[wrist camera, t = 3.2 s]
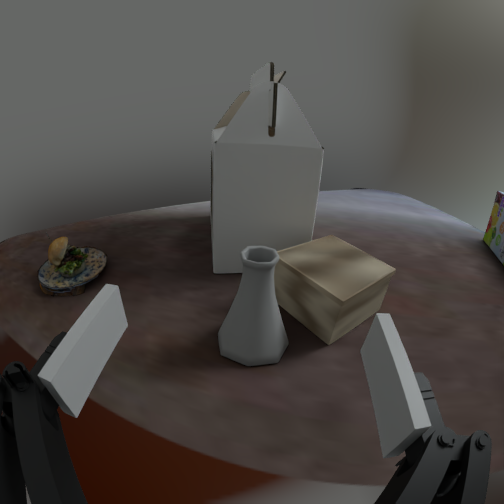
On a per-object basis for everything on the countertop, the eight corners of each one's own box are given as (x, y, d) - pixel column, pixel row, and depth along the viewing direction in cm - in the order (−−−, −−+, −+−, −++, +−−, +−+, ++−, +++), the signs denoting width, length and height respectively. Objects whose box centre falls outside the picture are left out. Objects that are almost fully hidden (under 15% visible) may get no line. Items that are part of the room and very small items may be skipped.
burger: (93, 302, 31) (79, 249, 27) (27, 296, 30) (10, 249, 26) (119, 255, 41) (112, 211, 38) (60, 255, 40) (51, 214, 37)
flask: (209, 361, 25) (203, 271, 20) (225, 313, 31) (225, 231, 26) (286, 372, 24) (305, 284, 19) (289, 322, 30) (303, 239, 26)
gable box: (307, 272, 40) (332, 66, 27) (213, 275, 38) (218, 52, 25) (274, 215, 59) (284, 80, 46) (210, 215, 57) (214, 76, 44)
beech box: (381, 309, 32) (395, 269, 30) (328, 347, 27) (343, 301, 24) (323, 272, 40) (331, 234, 37) (266, 296, 34) (271, 253, 32)
